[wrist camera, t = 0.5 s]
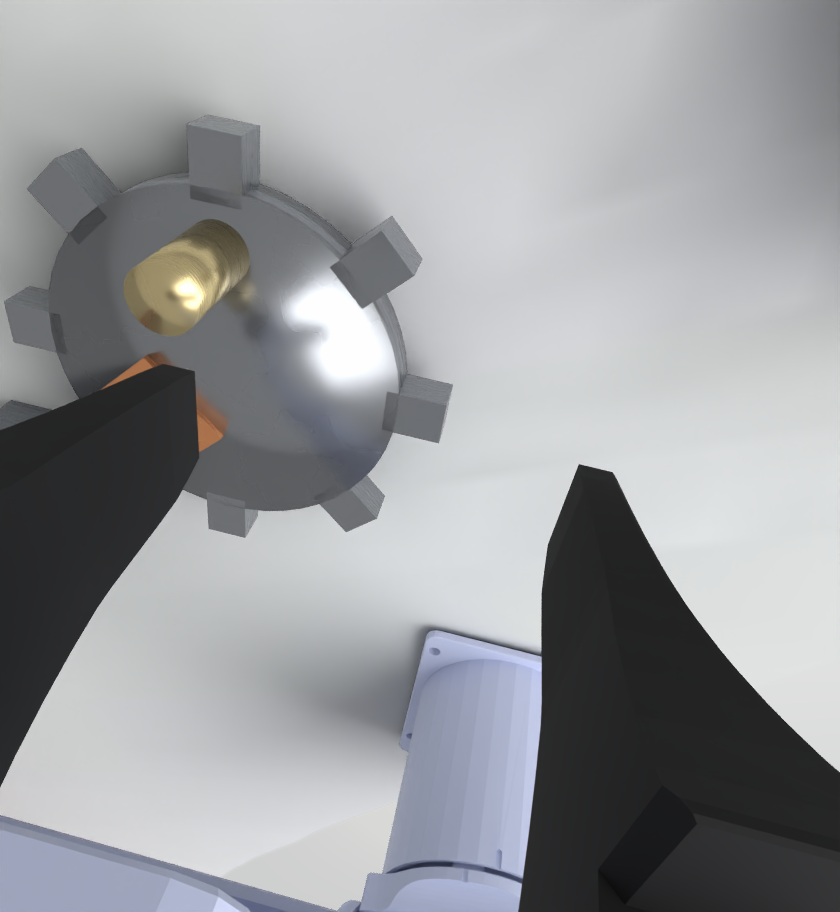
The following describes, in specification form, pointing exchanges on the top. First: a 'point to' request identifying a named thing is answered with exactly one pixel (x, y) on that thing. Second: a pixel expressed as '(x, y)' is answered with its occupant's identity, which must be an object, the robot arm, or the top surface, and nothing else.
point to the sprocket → (237, 324)
